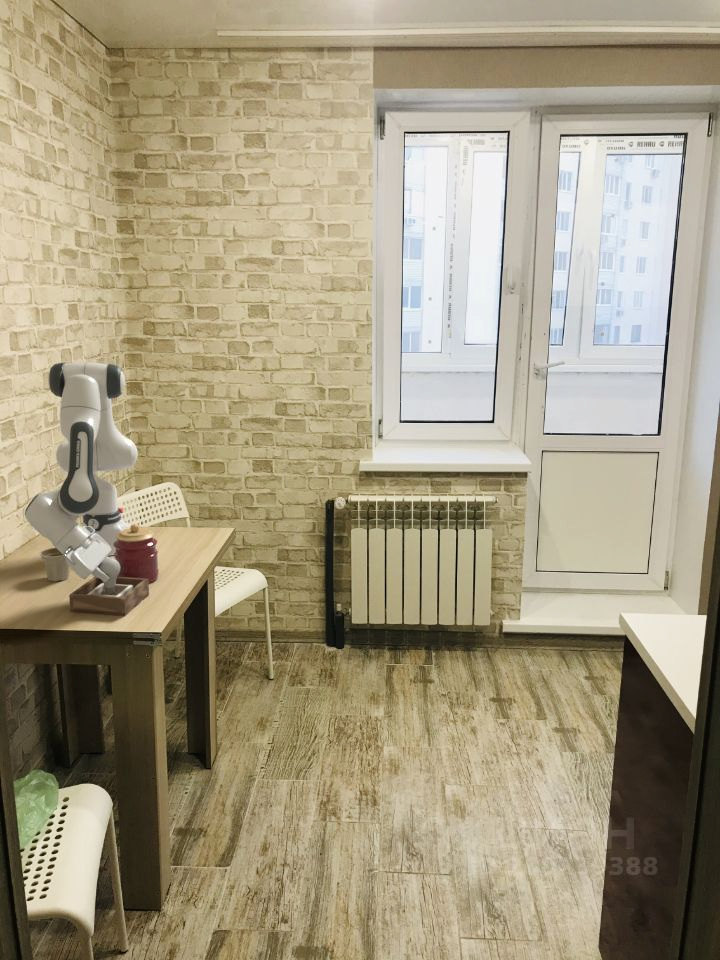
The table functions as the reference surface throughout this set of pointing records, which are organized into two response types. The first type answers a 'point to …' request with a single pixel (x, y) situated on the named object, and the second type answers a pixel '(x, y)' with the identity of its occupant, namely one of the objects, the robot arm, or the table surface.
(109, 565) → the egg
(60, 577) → the flower pot
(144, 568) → the canister
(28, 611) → the table surface
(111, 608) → the socket box
